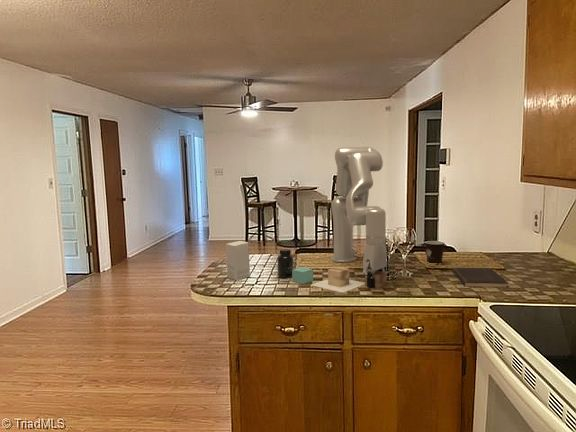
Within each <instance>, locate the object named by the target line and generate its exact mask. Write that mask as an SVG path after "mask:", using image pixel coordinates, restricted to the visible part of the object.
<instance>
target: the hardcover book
mask: <svg viewBox="0 0 576 432" xmlns="http://www.w3.org/2000/svg"><path fill="white" fill-rule="evenodd" d="M451 272H452V273H453V274H454V276H455V277H456V278H457V279H458V280H459V282H460V283H461V284H462V285H463V286H464V287H484V288H489V287H491V288H492V287H493V288H507V287H508V285H509V282H508V281H507V280H506V279H504V277H502V276H501V275H500V274H499V273H497V272H496V271H495V270H494V269H493V268H491V267H452V269H451Z"/></svg>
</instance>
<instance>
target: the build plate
mask: <svg viewBox="0 0 576 432" xmlns="http://www.w3.org/2000/svg"><path fill="white" fill-rule="evenodd" d="M363 285H364V286H365V281H358V280H353V279H350V278H349V284H347V285H345V286H342V287H337V286H333V285H329V284H328V278H327V279H324V280H322V281H321V280H320V281H318V282H314V283H312V284H310V286H314V287H318V288H321V289H324V290H330V291H334V292H339V293H341V294H342V293H346V292H348V291H350V290H354V289H357V288H359V287H361V286H363Z"/></svg>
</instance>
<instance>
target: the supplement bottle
mask: <svg viewBox="0 0 576 432" xmlns="http://www.w3.org/2000/svg"><path fill="white" fill-rule="evenodd" d="M291 251H292V250H291V249H290V248H282V249H281V248H280V249H279V255H278V256H277V277H278V278H280V279H291V278H292V270H293V269H294V257H293V256H292V255H291V254H292V252H291Z"/></svg>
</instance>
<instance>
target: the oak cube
mask: <svg viewBox="0 0 576 432" xmlns="http://www.w3.org/2000/svg"><path fill="white" fill-rule="evenodd" d="M327 279H328V284H329V285H333V286H337V287H342V286H345V285H347V284H349V279H350V268H345V267H340V266H335V267H331V268H329V269H327Z"/></svg>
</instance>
